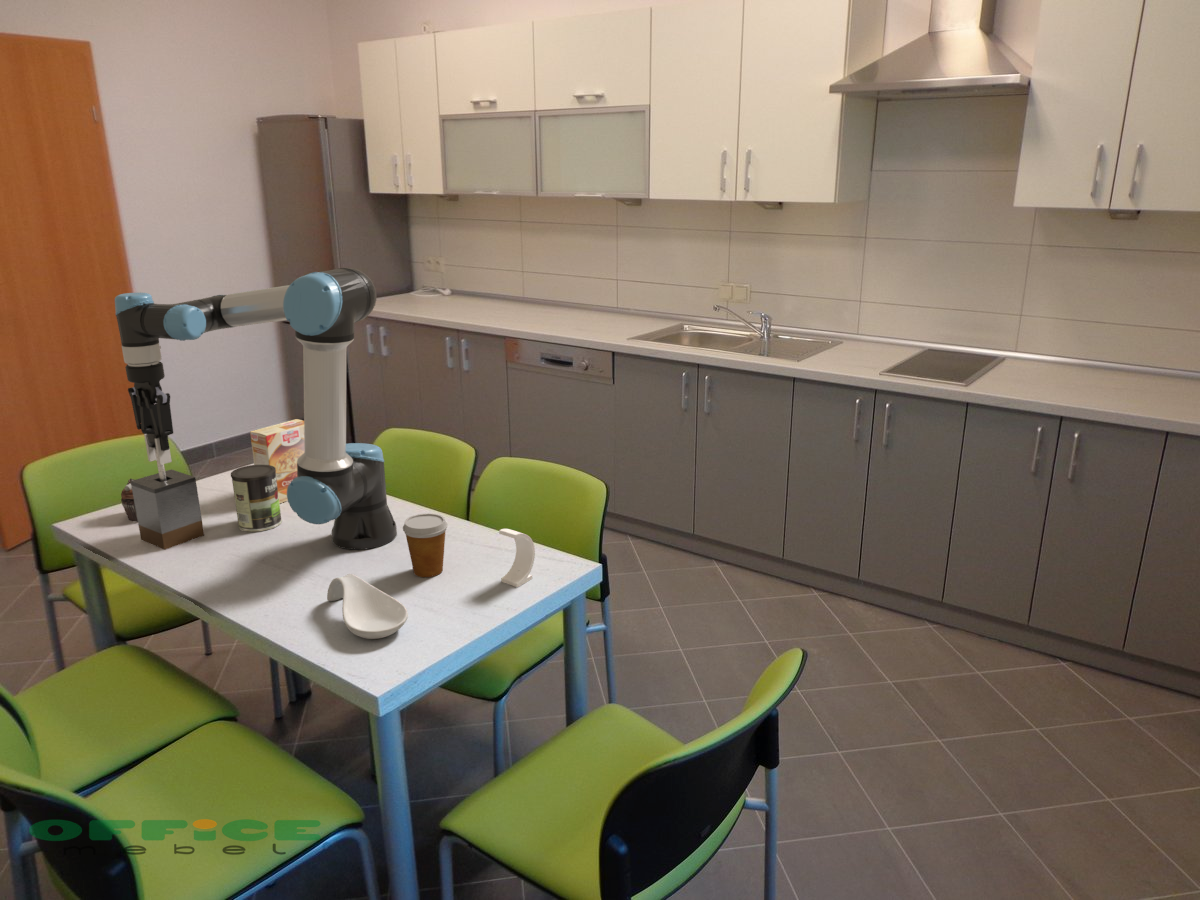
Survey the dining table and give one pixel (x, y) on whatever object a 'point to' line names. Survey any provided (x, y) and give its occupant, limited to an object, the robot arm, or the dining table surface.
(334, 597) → the spoon rest
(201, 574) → the dining table surface
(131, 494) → the cupcake
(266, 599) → the dining table surface
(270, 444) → the coffeecake box
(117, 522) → the dining table surface
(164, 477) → the plunger
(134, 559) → the dining table surface
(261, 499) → the coffee can
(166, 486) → the grey brown upright block
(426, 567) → the disposable coffee cup
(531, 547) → the headphone stand
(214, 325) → the robot arm
